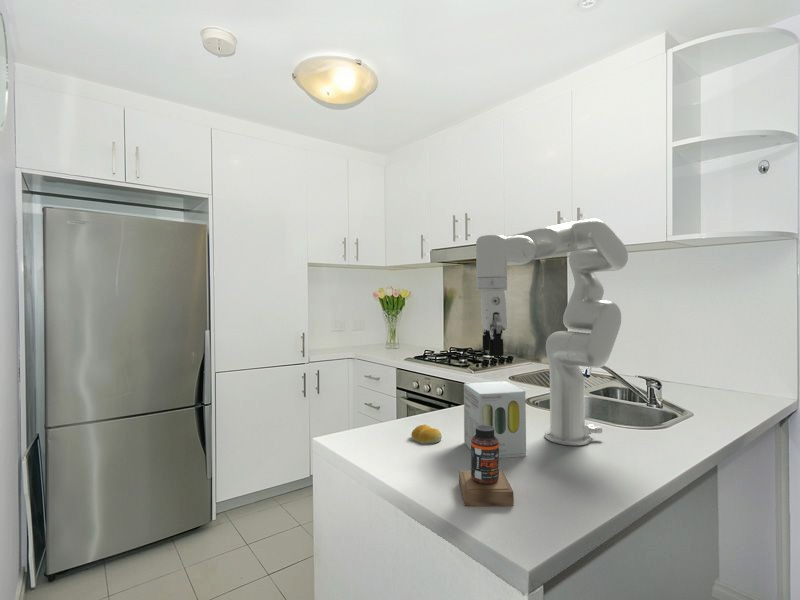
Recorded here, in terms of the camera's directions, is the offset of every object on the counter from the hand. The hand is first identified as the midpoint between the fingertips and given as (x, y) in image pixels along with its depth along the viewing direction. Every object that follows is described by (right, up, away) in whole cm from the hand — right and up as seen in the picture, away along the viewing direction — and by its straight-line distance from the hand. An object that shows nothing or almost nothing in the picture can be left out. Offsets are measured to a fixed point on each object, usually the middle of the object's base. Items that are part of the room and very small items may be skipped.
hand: (492, 352), depth 108 cm
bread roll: (-15, -29, +20) cm, 38 cm away
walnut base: (-5, -29, -15) cm, 33 cm away
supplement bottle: (-5, -26, -15) cm, 30 cm away
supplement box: (+3, -28, +11) cm, 30 cm away
